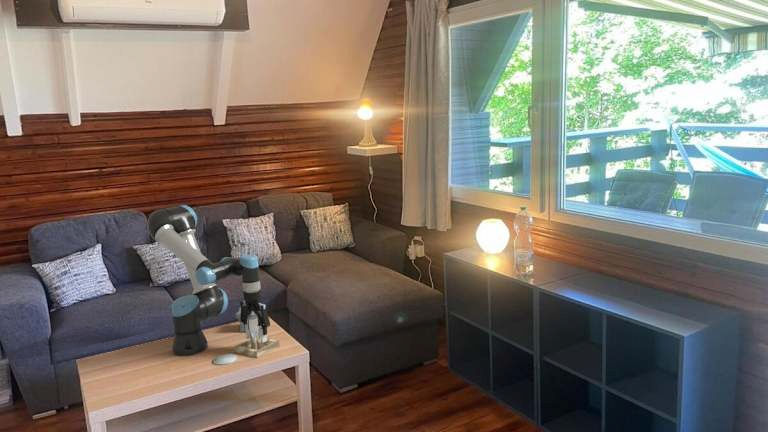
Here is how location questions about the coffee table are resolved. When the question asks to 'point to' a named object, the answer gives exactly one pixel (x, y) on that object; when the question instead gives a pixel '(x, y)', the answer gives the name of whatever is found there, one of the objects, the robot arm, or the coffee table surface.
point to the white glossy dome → (225, 359)
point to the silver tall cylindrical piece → (254, 332)
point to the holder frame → (257, 353)
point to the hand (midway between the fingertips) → (256, 339)
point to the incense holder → (242, 327)
